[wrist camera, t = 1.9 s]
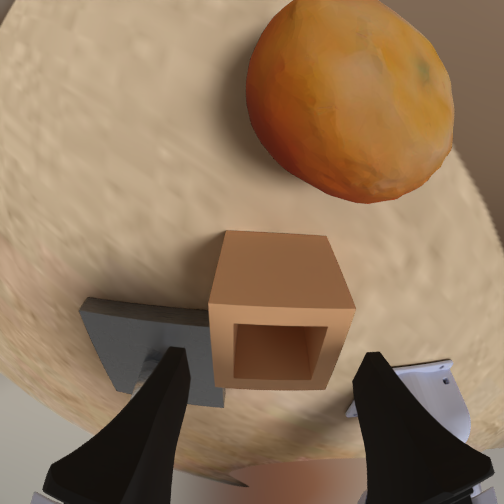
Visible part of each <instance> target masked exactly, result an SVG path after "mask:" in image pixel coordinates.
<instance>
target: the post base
mask: <svg viewBox="0 0 504 504" xmlns="http://www.w3.org/2000/svg"><path fill="white" fill-rule="evenodd" d="M79 312H80V315H81V317H82V320H83V322H84V325H85V327H86V329H87V332H88V334H89V336H90V339H91V341H92V343H93V345H94V347H95V350H96V352H97V354H98V356H99V358H100V360H101V362H102V364H103V366H104V368H105V370H106V372H107V374H108V376H109V378H110V380H111V381H112V383H113V385H114V387H115V389H116V391H119V392H123V393H128V394H132V396H131V399H132V398H133V397H134V395H135V394H136V393H137V392H138V391H139V389H140V388H141V387H142V385H143V384H144V383H145V381H146V380H147V379H148V377H149V376H150V375H151V373H152V372H153V370H154V369H155V367H156V366H157V365H158V363H159V362H160V360H161V358H162V357H163V355H164V354H165V352H166V350H167V349H168V348H169V347H170V346H173V347H182V348H185V349H186V354H187V360H188V365H189V370H190V375H191V382H190V390H189V397H188V402H187V404H192V405H200V406H209V407H220V408H224V402H225V388H221V387H215V382H214V371H213V360H212V349H211V336H210V323H209V311H206V310H193V309H182V308H171V307H161V306H152V305H143V304H134V303H126V302H118V301H111V300H103V299H96V298H89V297H88V298H87V299H86V300H85V302H84V303H83V305H82V306H81V308H80V309H79ZM131 399H130V400H131Z"/></svg>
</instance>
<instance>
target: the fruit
mask: <svg viewBox="0 0 504 504" xmlns="http://www.w3.org/2000/svg"><path fill="white" fill-rule="evenodd" d="M246 102H247V108H248V113H249V117H250V121H251V125H252V127H253V129H254V131H255V133H256V135H257V137H258V138H259V140H260V142H261V143H262V144H263V146H264V147H265V148H266V150H267V151H268V152H269V153H270V155H271V156H272V157H273V159H274V160H276V161H277V162H278V163H279V164H280V165H281V166H282V167H283V168H284V169H285V170H287V171H288V172H290V173H291V174H293V175H295V176H296V177H298V178H300V179H301V180H303V181H305V182H307V183H309V184H310V185H312V186H314V187H316V188H318V189H319V190H321V191H323V192H324V193H326V194H329V195H331V196H334V197H338V198H341V199H344V200H348V201H351V202H355V203H365V204H370V203H375V202H381V201H387V200H395V199H398V198H399V197H401V196H402V195H404V194H406V193H409V192H411V191H413V190H415V189H417V188H419V187H420V186H422V185H423V184H424V183H425V182H426V181H428V180H429V178H430V177H431V175H432V174H433V173H434V172H435V171H436V170H438V169H439V168H440V167H441V165H442V163H443V161H444V159H445V157H446V156H447V155H448V154H449V152H450V151H451V148H452V140H453V133H452V132H453V123H454V105H453V97H452V94H451V82H450V79H449V76H448V73H447V71H446V69H445V67H444V65H443V63H442V62H441V60H440V59H439V57H438V55H437V53H436V51H435V49H434V47H433V46H432V44H431V43H430V42H429V41H428V40H427V39H426V38H425V37H424V36H423V35H422V34H421V33H420V32H419V31H418V30H416V29H415V28H414V27H413V26H412V25H411V24H410V23H408V22H407V21H406V20H404V19H403V18H402V17H401V16H399V15H398V14H397V13H395V12H394V11H393V10H391V9H390V8H388V7H387V6H385V5H384V4H383V3H381V2H380V1H378V0H293V1H292V2H290V3H289V4H288V5H286V6H285V7H284V8H283V9H282V10H281V11H280V12H279V13H277V14H276V15H275V16H274V17H273V19H272V20H271V21H270V22H269V24H268V25H267V27H266V28H265V30H264V31H263V33H262V35H261V37H260V39H259V41H258V43H257V45H256V47H255V49H254V52H253V54H252V56H251V58H250V62H249V68H248V73H247V78H246Z"/></svg>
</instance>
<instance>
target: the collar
mask: <svg viewBox="0 0 504 504" xmlns="http://www.w3.org/2000/svg"><path fill="white" fill-rule="evenodd" d="M208 308H209V323H210V336H211V349H212V360H213V371H214V382H215V387H221V388H235V389H252V390H325V389H326V387H327V384H328V382H329V380H330V377H331V375H332V372H333V370H334V367H335V365H336V363H337V360H338V357H339V355H340V352H341V350H342V347H343V344H344V342H345V339H346V336H347V334H348V331H349V328H350V325H351V322H352V319H353V317H354V314H355V311H356V307H355V305H354V302H353V299H352V297H351V294H350V292H349V289H348V287H347V284H346V282H345V279H344V277H343V274H342V272H341V269H340V267H339V264H338V262H337V260H336V257H335V255H334V252H333V250H332V248H331V245H330V243H329V241H328V239H327V236H316V235H300V234H283V233H265V232H246V231H226V233H225V237H224V241H223V245H222V249H221V253H220V257H219V261H218V265H217V269H216V273H215V277H214V281H213V285H212V289H211V293H210V298H209V302H208Z"/></svg>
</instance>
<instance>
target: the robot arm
mask: <svg viewBox="0 0 504 504" xmlns="http://www.w3.org/2000/svg"><path fill="white" fill-rule="evenodd" d="M452 365H453V362H452V360H447V361H441V362H435V363H429V364H422V365H415V366H407V367H399V368H392V367H391V366H390V365H389V363H388V362H387V361H386V359H385V358H384V357H383V355H382V354H381V353H380V352H367V353H366V355H365V357H364V359H363V361H362V363H361V365H360V367H359V369H358V371H357V373H356V375H355V377H354V379H353V381H352V383H353V393H354V401H353V402H352V404H351V406H350V407H349V409H348V410H347V412H346V417H358V419H359V423H360V428H361V432H362V436H363V441H364V446H365V452H366V463H367V490H365V491H364V492H363V494H362V495H361V497H360V499H359V501H358V504H498V503H497V499H496V495H495V491H494V487H490V488H489V489H487V490H485V491H483V492H482V490H481V485H480V483H481V482H482V481H484V480H486V479H488V478H489V477H491V476H492V475H493V474H494V473H495V472H494V469H493V466H492V462H491V459H490V457H488V456H486V455H484V454H482V453H480V452H479V451H477V450H475V449H473V448H472V447H470V446H469V445H467V444H465V443H466V441H467V439H468V437H469V434H470V427H471V421H470V415H469V411H468V409H467V406H466V404H465V402H464V399H463V397H462V395H461V393H460V390H459V388H458V386H457V384H456V382H455V379H454V377H453V375H452V373H451V371H450V368H451V366H452ZM190 382H191V375H190V370H189V365H188V360H187V354H186V349H185V348H182V347H173V346H170V347H169V348H168V349H167V350H166V352H165V354H164V355H163V357H162V358H161V360H160V362H159V363H158V365H157V366H156V367H155V369H154V370H153V372H152V373H151V375H150V376H149V377H148V379H147V380H146V381H145V383H144V384H143V385H142V387H141V388H140V389H139V391H138V392H137V393H136V394H135V395H134V397H133V398H132V399H131V400H130V401H129V403H128V404H127V405H126V406H125V407H124V408H123V409H122V410H121V412H120V413H119V414H118V415H117V416H116V417H115V418H114V419H113V420H112V421H111V422H110V423H109V424H107V425H106V426H105V427H104V428H103V429H102V430H101V431H100V432H99V433H97V434H96V435H95V436H94V437H93V438H91V439H90V440H89V441H87V442H86V443H85V444H83V445H82V446H81V447H79V448H78V449H76V450H75V451H73V452H72V453H70V454H69V455H67V456H65V457H63V458H62V459H60V460H59V461H57V462H55V463H53V464H52V465H51V466H50V468H49V471H48V473H47V476H46V479H45V482H44V485H43V489H42V490H43V492H45V493H46V494H48V495H50V496H52V497H54V498H55V499H57V500H59V501H61V502H63V503H64V504H170V498H171V484H172V474H173V465H174V457H175V451H176V446H177V441H178V437H179V433H180V429H181V426H182V422H183V418H184V414H185V410H186V406H187V402H188V397H189V390H190ZM31 504H60V503H58V502H55V501H53V500H51V499H49V498H47V497H45V496H43V495H41V494H39V493H38V492H34V494H33V497H32V500H31Z"/></svg>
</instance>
